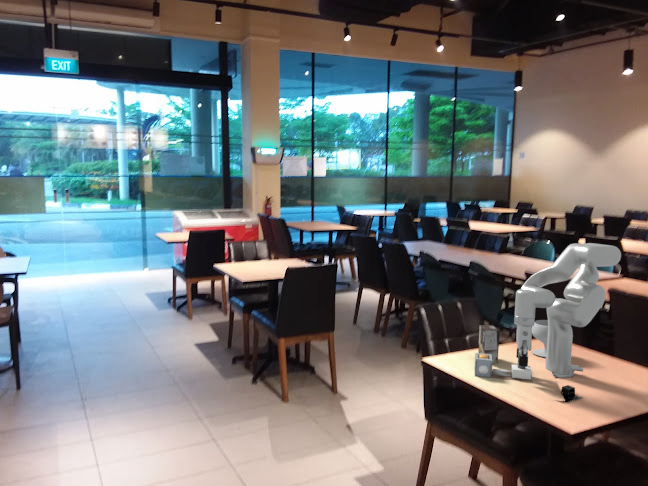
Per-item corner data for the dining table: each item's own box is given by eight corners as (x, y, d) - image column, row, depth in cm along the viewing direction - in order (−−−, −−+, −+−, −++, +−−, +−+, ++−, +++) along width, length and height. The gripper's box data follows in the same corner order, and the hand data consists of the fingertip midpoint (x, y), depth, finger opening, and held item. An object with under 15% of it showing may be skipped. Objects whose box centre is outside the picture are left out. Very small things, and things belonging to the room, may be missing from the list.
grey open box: (490, 370, 216) (491, 354, 215) (491, 377, 208) (492, 360, 207) (474, 368, 218) (475, 352, 217) (474, 375, 210) (475, 359, 209)
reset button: (487, 361, 214) (488, 354, 213) (488, 364, 210) (488, 357, 210) (478, 361, 215) (479, 354, 214) (478, 363, 211) (479, 356, 211)
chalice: (562, 352, 245) (564, 321, 244) (562, 361, 233) (564, 328, 231) (531, 348, 251) (533, 317, 249) (529, 356, 239) (531, 324, 237)
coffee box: (498, 366, 225) (500, 330, 223) (483, 366, 225) (485, 330, 223) (491, 359, 234) (493, 324, 232) (477, 359, 234) (479, 324, 232)
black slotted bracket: (565, 405, 187) (566, 393, 187) (547, 398, 194) (548, 386, 193) (586, 399, 193) (587, 387, 193) (569, 392, 200) (569, 380, 199)
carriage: (529, 374, 211) (530, 349, 210) (531, 379, 205) (532, 354, 204) (511, 372, 213) (512, 347, 212) (512, 378, 207) (514, 352, 206)
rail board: (529, 377, 213) (530, 369, 212) (532, 385, 204) (533, 377, 204) (474, 371, 218) (474, 363, 218) (474, 379, 210) (475, 371, 209)
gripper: (537, 327, 197) (534, 370, 199) (531, 315, 214) (529, 356, 216) (516, 325, 199) (513, 368, 201) (512, 314, 216) (510, 354, 218)
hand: (521, 361), depth 208 cm, fingers open, 9 cm apart
